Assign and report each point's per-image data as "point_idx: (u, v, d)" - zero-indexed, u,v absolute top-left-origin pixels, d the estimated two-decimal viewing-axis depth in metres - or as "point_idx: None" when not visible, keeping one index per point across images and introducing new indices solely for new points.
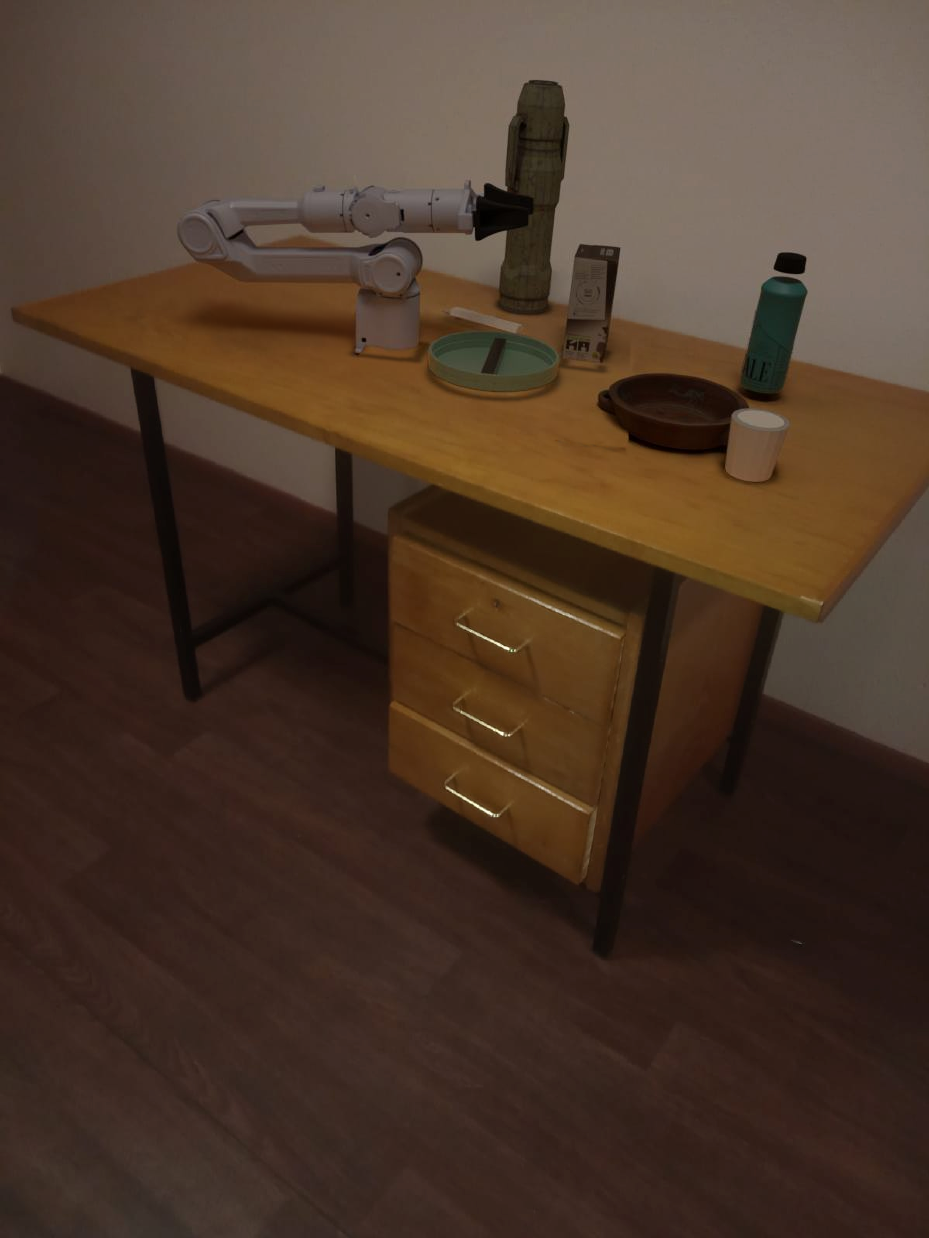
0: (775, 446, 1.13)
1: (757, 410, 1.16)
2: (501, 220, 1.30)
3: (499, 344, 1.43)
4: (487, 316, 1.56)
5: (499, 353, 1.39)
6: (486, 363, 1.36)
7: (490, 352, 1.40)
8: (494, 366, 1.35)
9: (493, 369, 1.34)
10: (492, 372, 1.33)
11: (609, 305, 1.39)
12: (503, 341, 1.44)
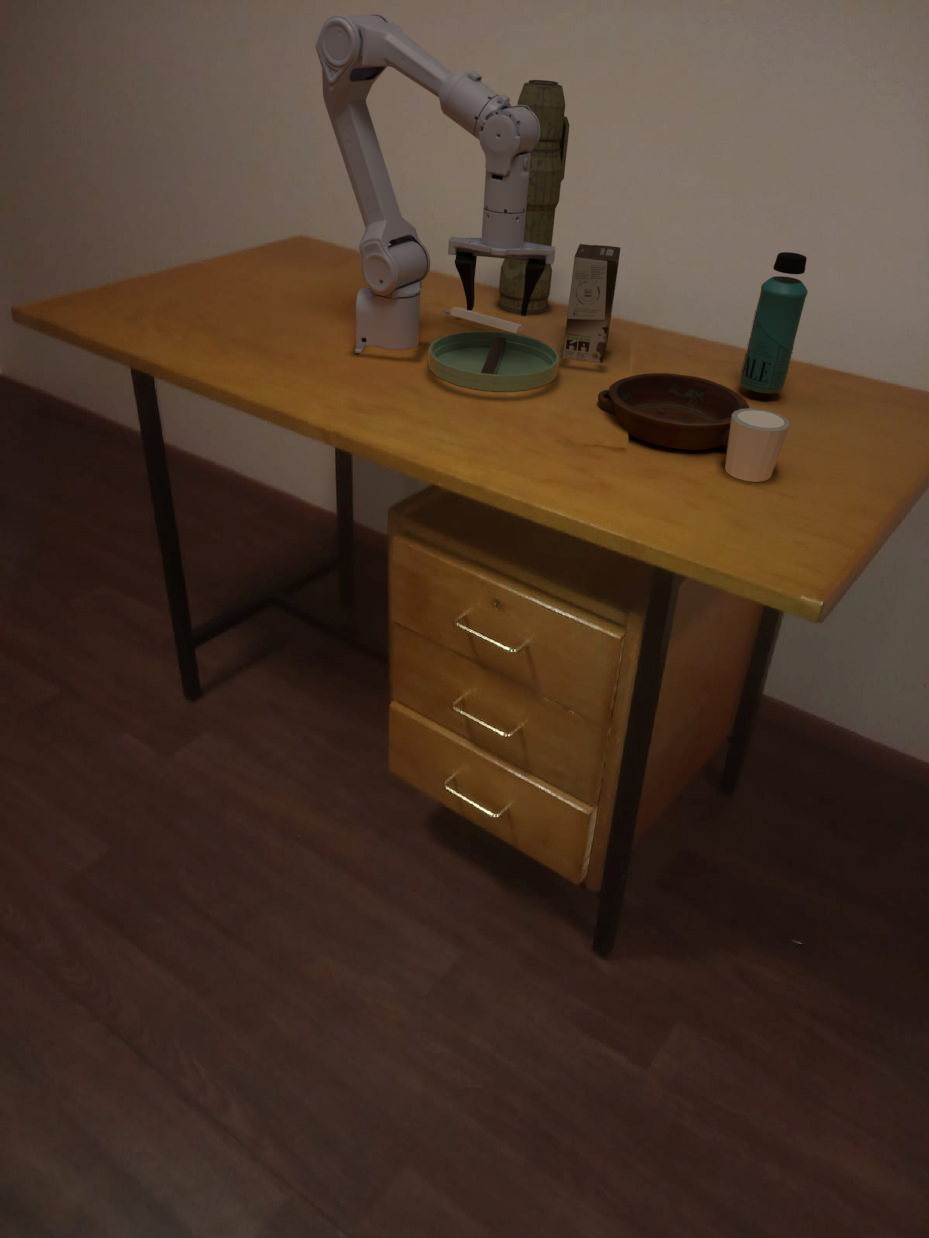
0: (775, 446, 1.13)
1: (757, 410, 1.16)
2: None
3: (499, 344, 1.43)
4: (487, 316, 1.56)
5: (499, 353, 1.39)
6: (486, 363, 1.36)
7: (490, 352, 1.40)
8: (494, 366, 1.35)
9: (493, 369, 1.34)
10: (492, 372, 1.33)
11: (609, 305, 1.39)
12: (503, 341, 1.44)
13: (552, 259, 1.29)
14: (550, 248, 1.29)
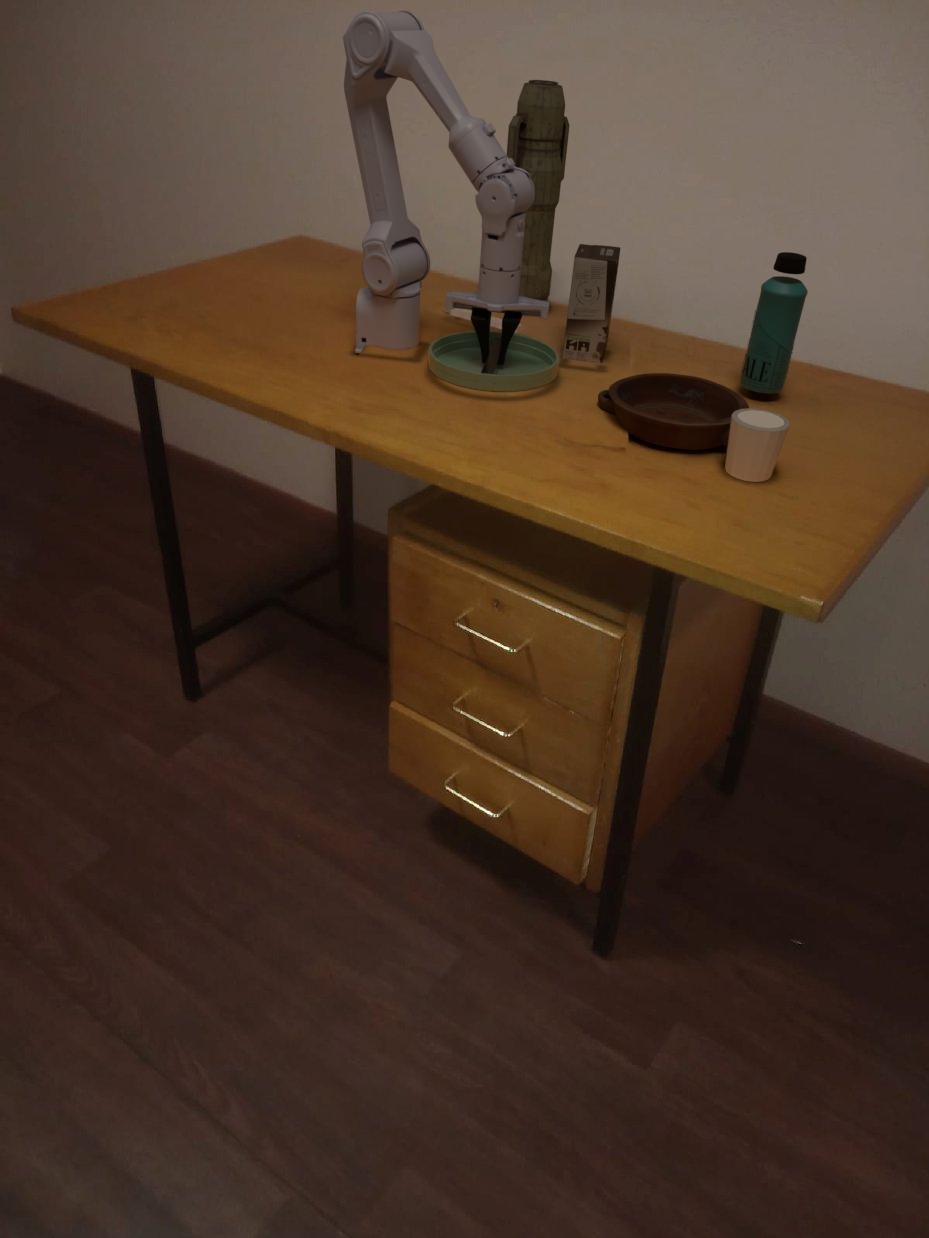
0: (775, 446, 1.13)
1: (757, 410, 1.16)
2: None
3: (499, 344, 1.43)
4: None
5: (499, 353, 1.39)
6: (486, 363, 1.36)
7: (490, 352, 1.40)
8: (494, 366, 1.35)
9: (493, 369, 1.34)
10: (492, 372, 1.33)
11: (609, 305, 1.39)
12: None
13: (546, 314, 1.33)
14: (544, 303, 1.33)
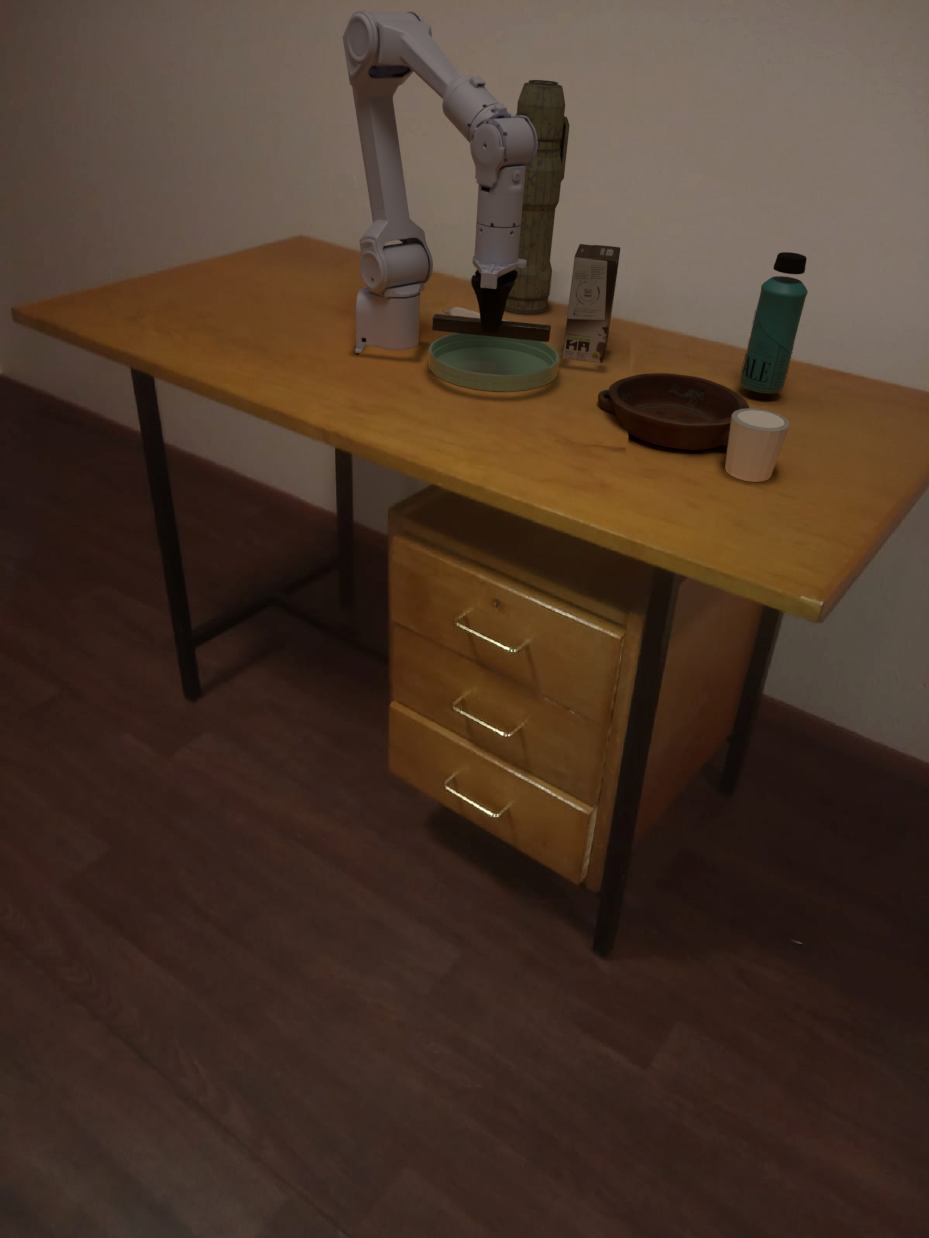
0: (775, 446, 1.13)
1: (757, 410, 1.16)
2: (489, 305, 1.26)
3: (454, 317, 1.30)
4: None
5: None
6: (518, 325, 1.28)
7: None
8: (525, 323, 1.29)
9: (534, 324, 1.29)
10: None
11: (609, 305, 1.39)
12: (444, 315, 1.30)
13: None
14: None
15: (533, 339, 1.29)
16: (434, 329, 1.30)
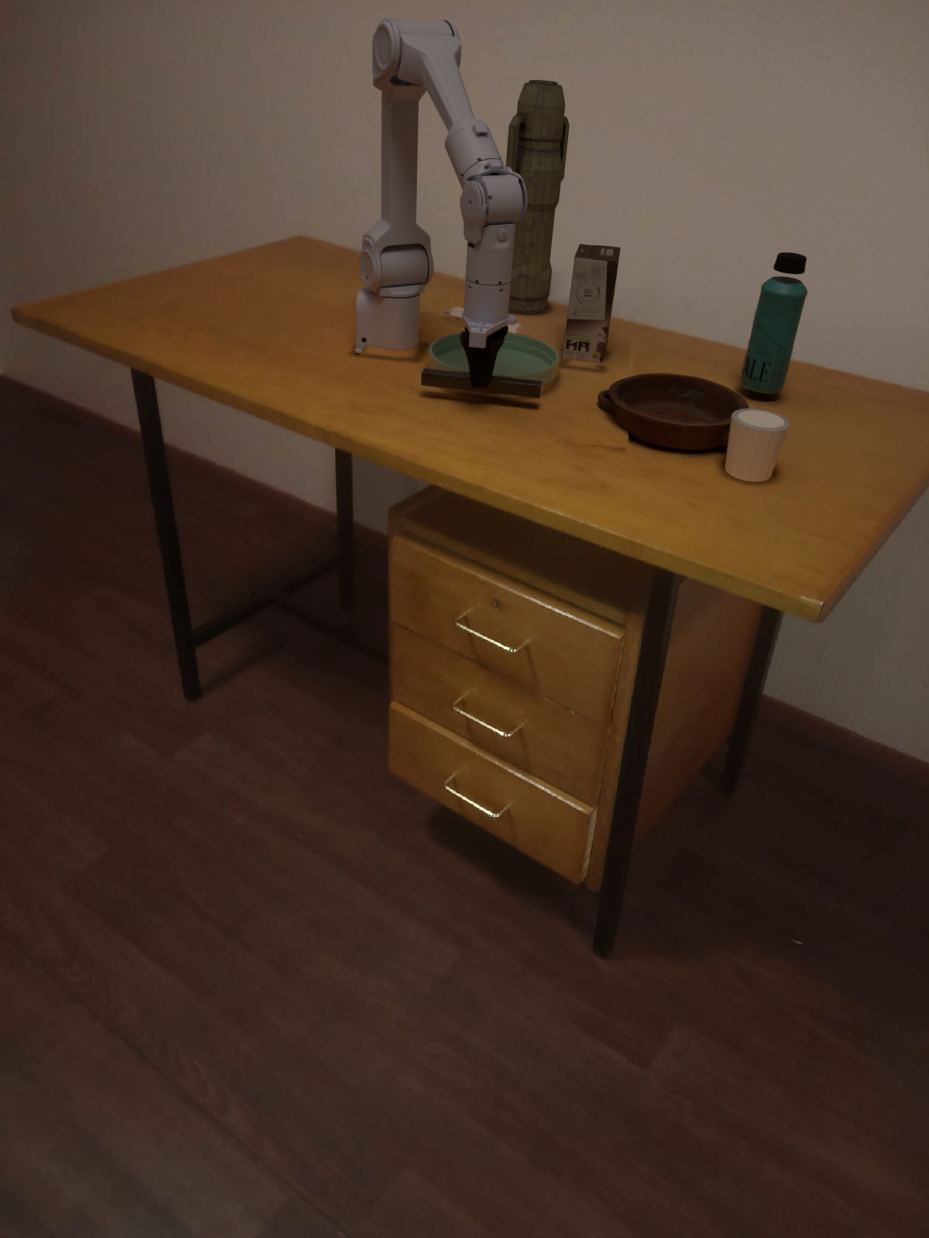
0: (775, 446, 1.13)
1: (757, 410, 1.16)
2: (478, 361, 1.23)
3: (443, 372, 1.27)
4: None
5: None
6: (508, 381, 1.25)
7: None
8: (516, 378, 1.26)
9: (525, 379, 1.26)
10: (534, 380, 1.26)
11: (609, 305, 1.39)
12: (433, 369, 1.27)
13: None
14: None
15: (524, 395, 1.26)
16: (423, 384, 1.27)
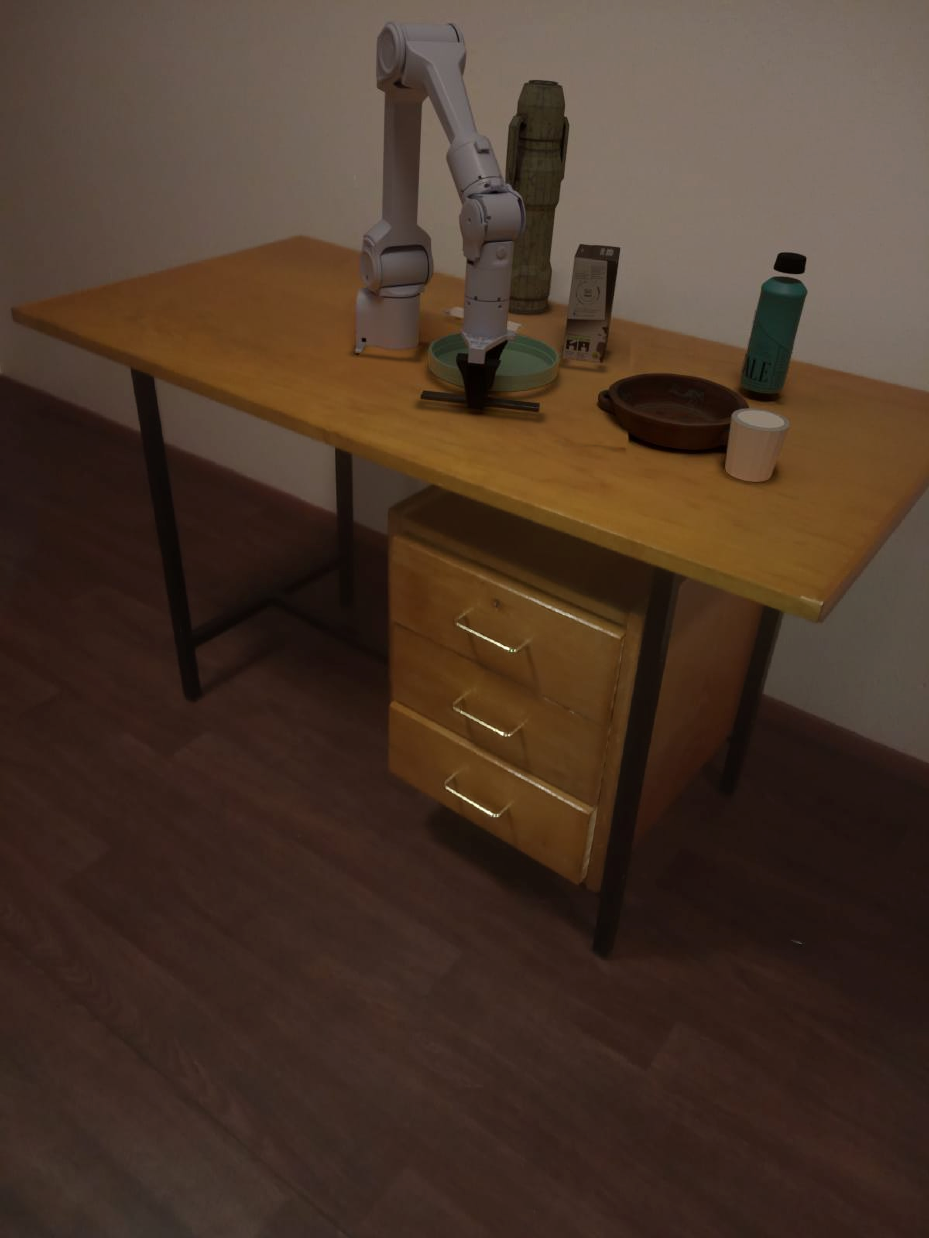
0: (775, 446, 1.13)
1: (757, 410, 1.16)
2: (474, 382, 1.22)
3: (442, 394, 1.28)
4: None
5: None
6: (506, 403, 1.27)
7: None
8: (514, 400, 1.28)
9: (523, 401, 1.28)
10: (532, 402, 1.28)
11: (609, 305, 1.39)
12: (432, 391, 1.29)
13: None
14: None
15: None
16: None
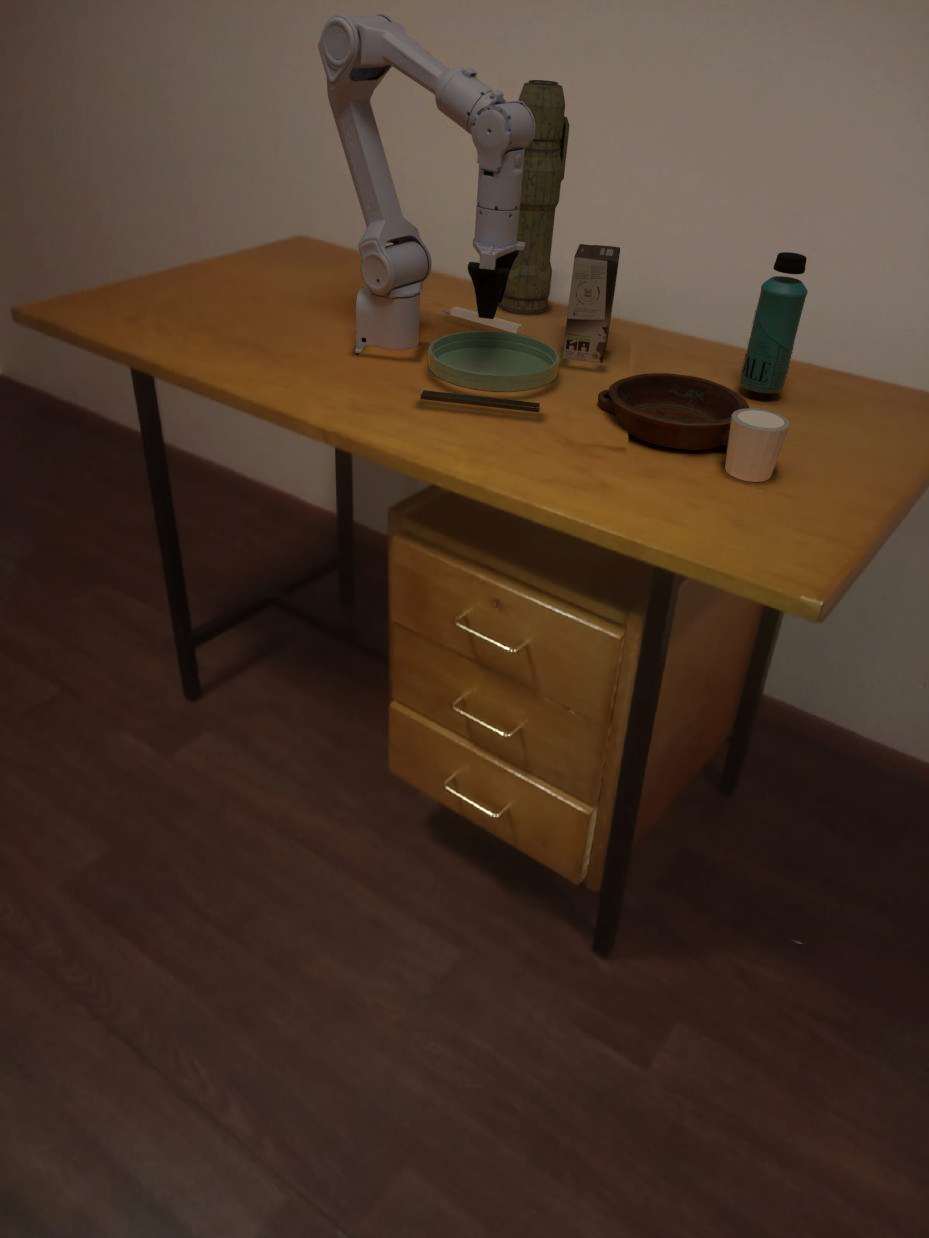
0: (775, 446, 1.13)
1: (757, 410, 1.16)
2: (485, 291, 1.28)
3: (442, 394, 1.28)
4: None
5: (473, 396, 1.29)
6: (506, 403, 1.27)
7: (471, 399, 1.27)
8: (514, 400, 1.28)
9: (523, 401, 1.28)
10: (532, 402, 1.28)
11: (609, 305, 1.39)
12: (432, 391, 1.29)
13: None
14: None
15: None
16: None
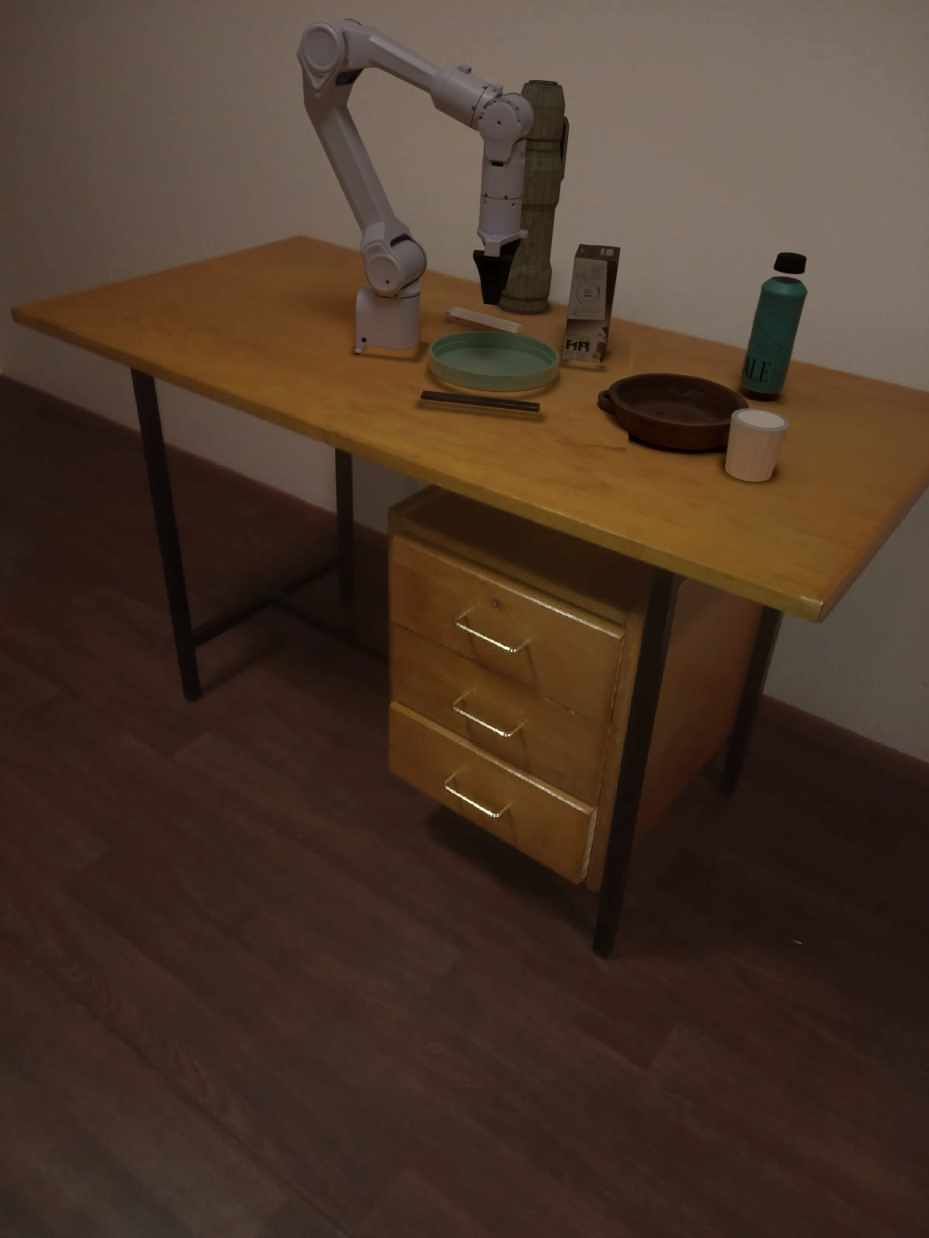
0: (775, 446, 1.13)
1: (757, 410, 1.16)
2: (490, 278, 1.32)
3: (442, 394, 1.28)
4: (487, 316, 1.56)
5: (472, 396, 1.29)
6: (506, 403, 1.27)
7: (471, 399, 1.27)
8: (514, 400, 1.28)
9: (523, 401, 1.28)
10: (532, 402, 1.28)
11: (609, 305, 1.39)
12: (432, 391, 1.29)
13: None
14: None
15: None
16: None
